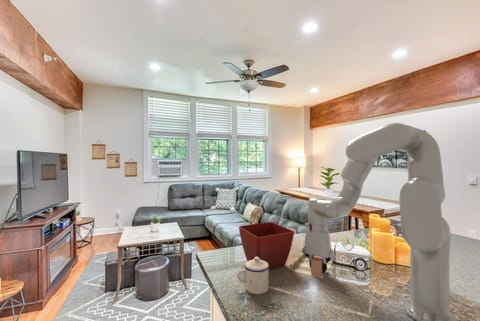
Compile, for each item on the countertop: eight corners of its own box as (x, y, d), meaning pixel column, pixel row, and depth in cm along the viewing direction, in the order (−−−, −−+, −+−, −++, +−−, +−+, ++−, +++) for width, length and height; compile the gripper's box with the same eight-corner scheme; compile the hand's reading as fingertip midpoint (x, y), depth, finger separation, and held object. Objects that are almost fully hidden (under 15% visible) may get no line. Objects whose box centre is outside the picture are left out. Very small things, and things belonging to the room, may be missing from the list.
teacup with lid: (266, 281, 96) (266, 252, 96) (271, 294, 87) (271, 262, 87) (236, 283, 95) (236, 253, 95) (238, 296, 86) (237, 263, 86)
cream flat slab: (323, 280, 97) (323, 272, 97) (289, 271, 104) (289, 264, 104) (333, 261, 115) (333, 255, 115) (304, 255, 122) (304, 249, 122)
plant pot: (295, 269, 107) (295, 231, 107) (258, 278, 99) (257, 237, 99) (271, 254, 124) (271, 221, 124) (238, 261, 116) (237, 226, 116)
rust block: (321, 277, 98) (320, 262, 98) (311, 274, 100) (311, 260, 100) (325, 270, 104) (324, 256, 104) (315, 268, 106) (315, 254, 106)
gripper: (295, 226, 103) (295, 269, 103) (337, 232, 94) (337, 279, 94) (301, 222, 109) (301, 263, 109) (340, 227, 100) (341, 271, 100)
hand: (318, 270), depth 102 cm, fingers closed on rust block, 4 cm apart
